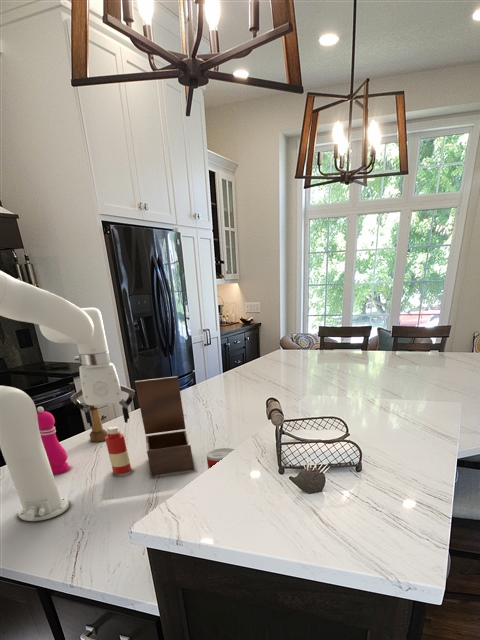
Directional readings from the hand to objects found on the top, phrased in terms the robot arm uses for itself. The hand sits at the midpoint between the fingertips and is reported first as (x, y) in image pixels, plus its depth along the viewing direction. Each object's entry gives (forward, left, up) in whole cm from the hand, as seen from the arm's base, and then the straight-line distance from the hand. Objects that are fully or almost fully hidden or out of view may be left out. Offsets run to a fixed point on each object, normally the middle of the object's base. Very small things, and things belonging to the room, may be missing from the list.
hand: (109, 423), depth 136 cm
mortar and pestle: (+39, +9, -16) cm, 43 cm away
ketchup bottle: (+1, -1, -16) cm, 16 cm away
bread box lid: (+7, -15, +1) cm, 17 cm away
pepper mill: (+11, +20, -16) cm, 27 cm away
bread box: (0, -15, -16) cm, 22 cm away
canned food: (-25, -28, -16) cm, 41 cm away
